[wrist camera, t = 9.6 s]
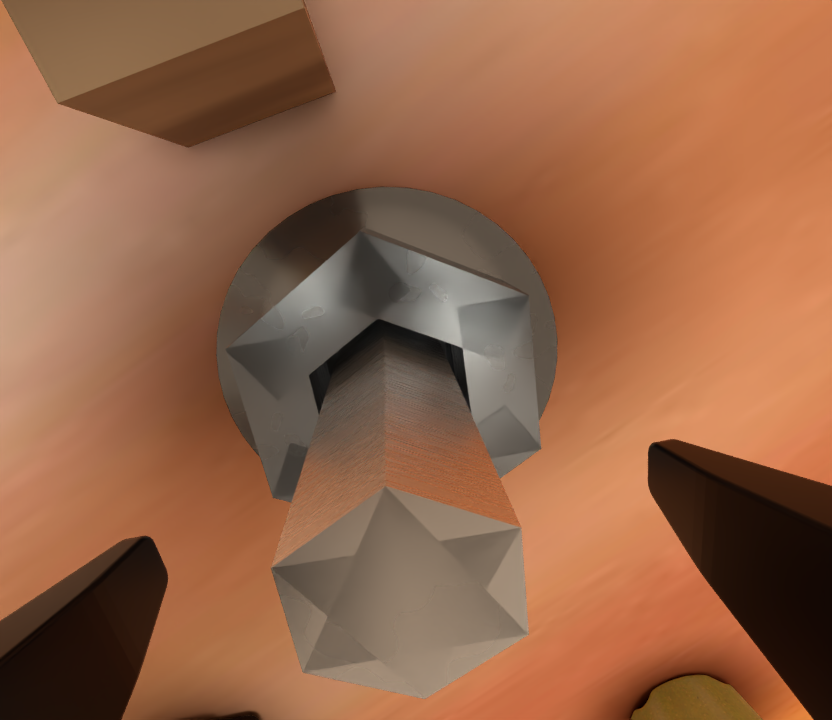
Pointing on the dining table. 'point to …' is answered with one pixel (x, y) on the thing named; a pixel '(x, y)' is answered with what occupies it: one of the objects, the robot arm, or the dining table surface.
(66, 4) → the brown wooden block
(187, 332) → the dining table surface
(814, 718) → the robot arm
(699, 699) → the plant pot
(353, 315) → the socket
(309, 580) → the tan elongated piece
